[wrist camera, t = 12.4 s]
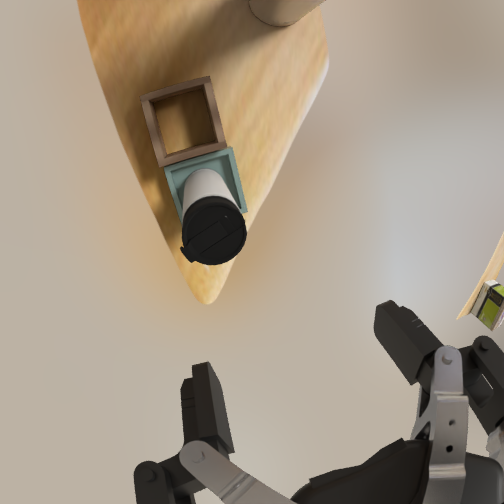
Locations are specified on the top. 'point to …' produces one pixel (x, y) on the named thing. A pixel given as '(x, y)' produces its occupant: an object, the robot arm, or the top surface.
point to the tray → (214, 160)
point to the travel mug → (210, 220)
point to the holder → (154, 128)
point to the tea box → (490, 305)
